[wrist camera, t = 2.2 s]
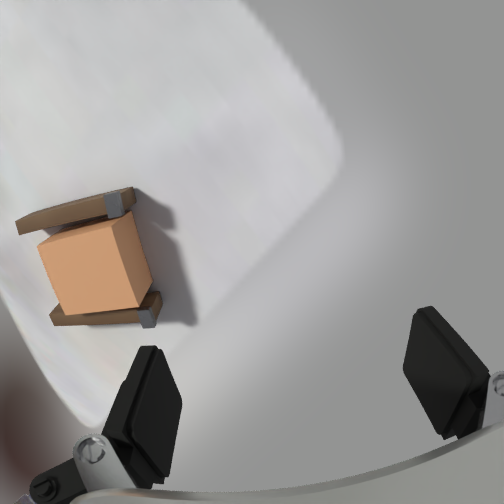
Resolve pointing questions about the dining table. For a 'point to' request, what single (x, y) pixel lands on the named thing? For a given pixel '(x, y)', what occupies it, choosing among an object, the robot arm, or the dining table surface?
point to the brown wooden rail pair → (84, 209)
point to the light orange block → (97, 265)
